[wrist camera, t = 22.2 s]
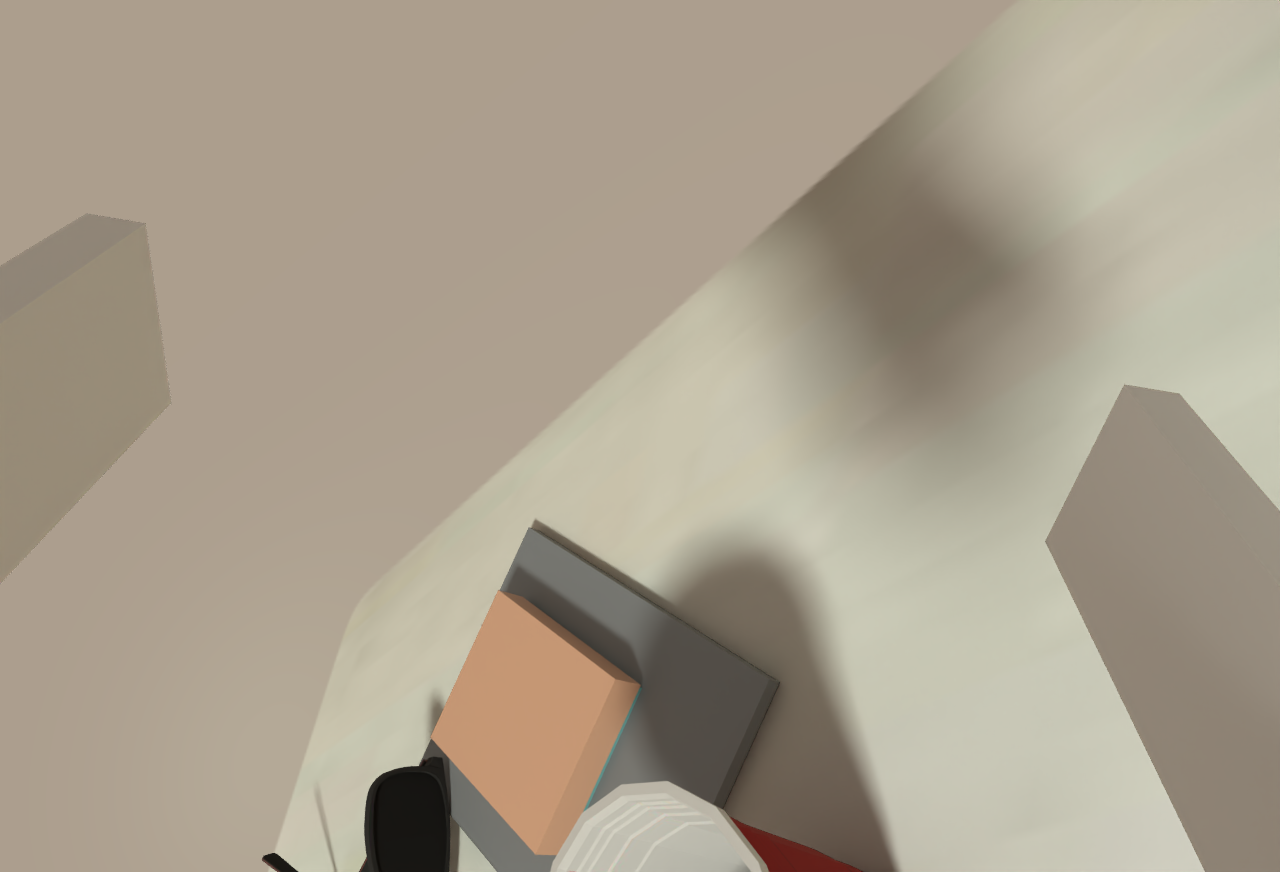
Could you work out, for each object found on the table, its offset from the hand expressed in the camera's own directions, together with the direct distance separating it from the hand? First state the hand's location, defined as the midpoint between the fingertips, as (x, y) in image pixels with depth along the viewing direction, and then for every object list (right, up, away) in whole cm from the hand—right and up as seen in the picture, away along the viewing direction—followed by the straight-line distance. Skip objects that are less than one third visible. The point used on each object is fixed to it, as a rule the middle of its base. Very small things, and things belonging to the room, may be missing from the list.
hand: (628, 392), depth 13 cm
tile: (-2, -16, +32) cm, 36 cm away
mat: (-3, -16, +36) cm, 39 cm away
